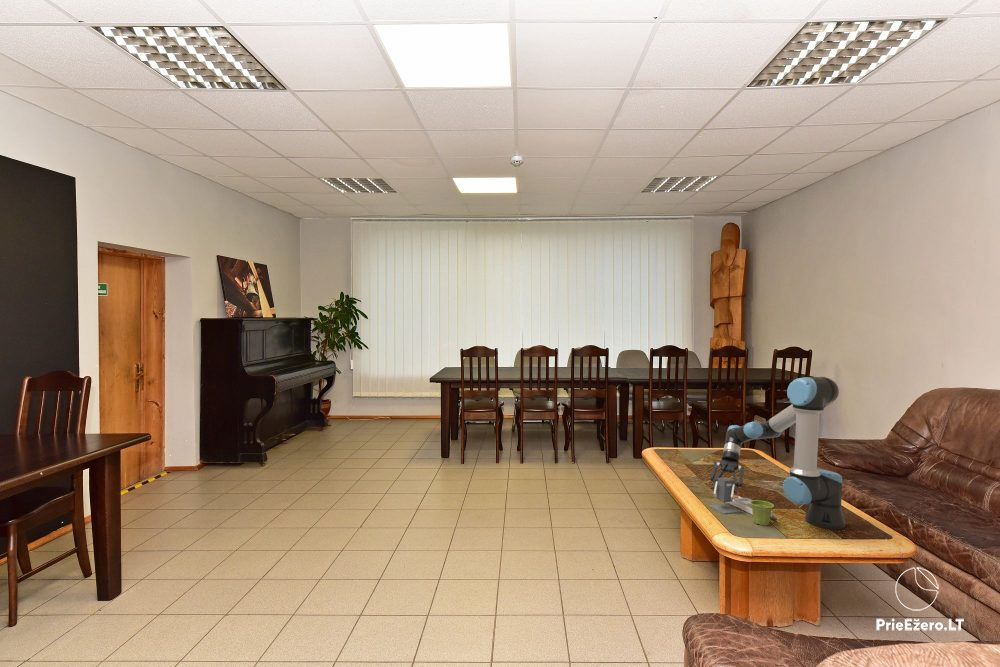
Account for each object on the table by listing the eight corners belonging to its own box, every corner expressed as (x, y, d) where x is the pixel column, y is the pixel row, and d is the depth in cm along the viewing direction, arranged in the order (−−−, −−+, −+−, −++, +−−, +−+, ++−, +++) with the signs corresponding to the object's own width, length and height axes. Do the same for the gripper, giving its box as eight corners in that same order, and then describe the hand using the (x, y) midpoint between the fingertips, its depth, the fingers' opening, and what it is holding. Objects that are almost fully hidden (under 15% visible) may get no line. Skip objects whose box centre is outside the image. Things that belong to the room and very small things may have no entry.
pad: (741, 512, 250) (741, 511, 250) (723, 514, 247) (723, 513, 247) (726, 505, 259) (726, 503, 259) (709, 506, 256) (709, 505, 256)
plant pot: (745, 518, 242) (746, 499, 242) (767, 519, 241) (767, 500, 241) (754, 526, 232) (755, 506, 232) (777, 527, 232) (777, 507, 232)
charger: (732, 501, 252) (733, 480, 251) (723, 502, 250) (724, 481, 250) (725, 498, 256) (726, 477, 256) (716, 498, 255) (717, 477, 255)
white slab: (783, 520, 240) (783, 513, 240) (768, 522, 238) (768, 515, 238) (738, 499, 267) (738, 493, 267) (724, 501, 265) (724, 494, 265)
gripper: (753, 462, 260) (747, 505, 247) (710, 455, 271) (702, 496, 258) (752, 453, 256) (745, 496, 243) (708, 447, 266) (700, 488, 253)
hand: (723, 496), depth 250 cm, fingers closed on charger, 7 cm apart
